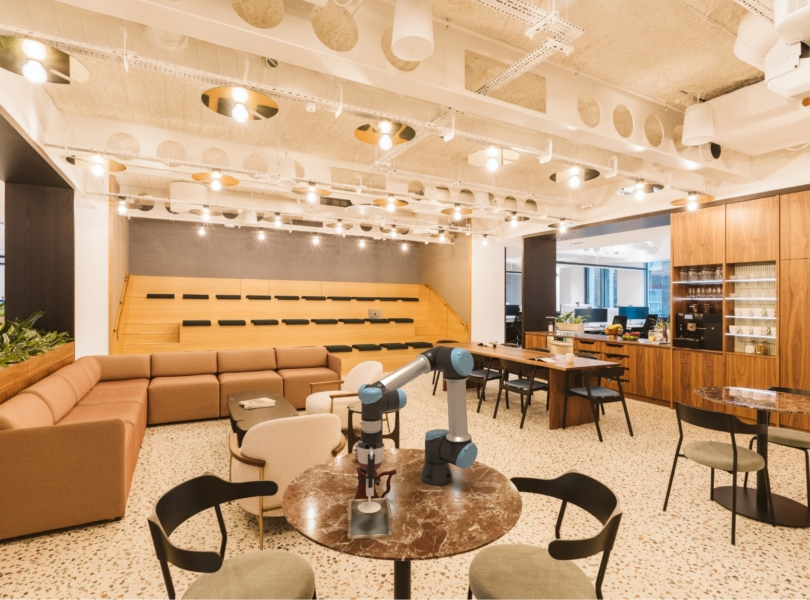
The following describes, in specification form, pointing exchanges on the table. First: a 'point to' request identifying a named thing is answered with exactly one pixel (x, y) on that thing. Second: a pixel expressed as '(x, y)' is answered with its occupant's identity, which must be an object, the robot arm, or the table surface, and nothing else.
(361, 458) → the wineglass
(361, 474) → the brown pitcher
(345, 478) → the table surface
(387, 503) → the square tray
